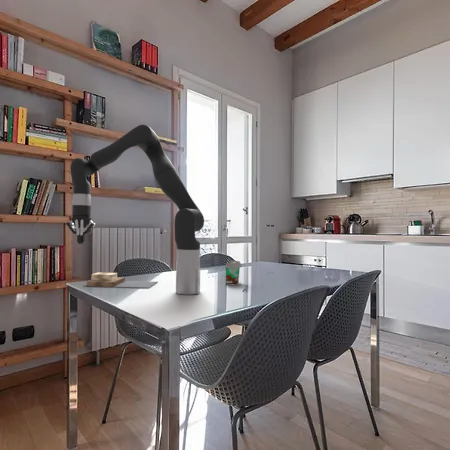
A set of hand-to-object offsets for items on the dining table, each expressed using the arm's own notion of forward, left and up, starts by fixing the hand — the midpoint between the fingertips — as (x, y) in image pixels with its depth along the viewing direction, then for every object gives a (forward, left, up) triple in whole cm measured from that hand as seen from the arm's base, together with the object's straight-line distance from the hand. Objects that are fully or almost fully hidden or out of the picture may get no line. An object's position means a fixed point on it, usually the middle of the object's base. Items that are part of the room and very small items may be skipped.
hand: (80, 243), depth 145 cm
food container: (-68, -11, -18) cm, 71 cm away
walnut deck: (-12, 0, -17) cm, 21 cm away
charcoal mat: (-26, 0, -17) cm, 31 cm away
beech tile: (-11, 0, -15) cm, 19 cm away
